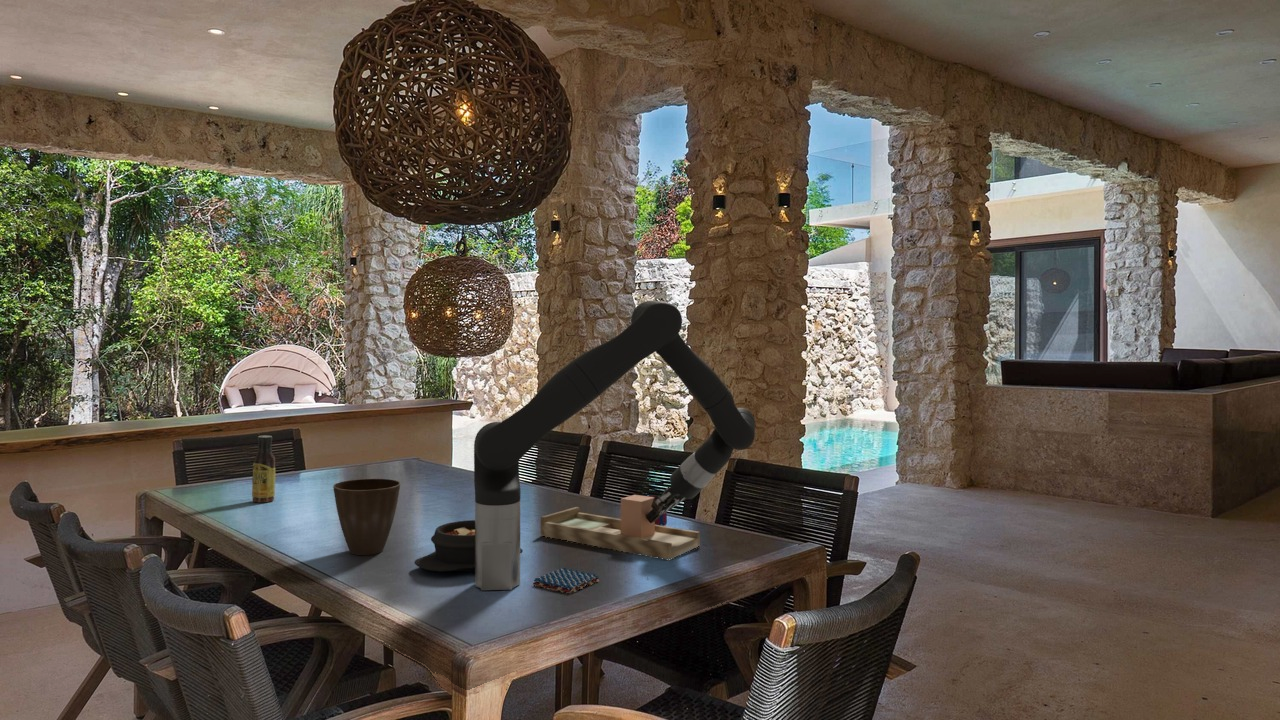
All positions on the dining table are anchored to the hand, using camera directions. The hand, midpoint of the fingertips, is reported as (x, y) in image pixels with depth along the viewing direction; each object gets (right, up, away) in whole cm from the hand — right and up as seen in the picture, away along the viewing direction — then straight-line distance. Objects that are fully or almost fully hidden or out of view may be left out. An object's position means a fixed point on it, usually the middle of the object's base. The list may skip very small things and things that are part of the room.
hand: (649, 519), depth 199 cm
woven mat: (-18, -8, -29) cm, 35 cm away
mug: (0, -6, +25) cm, 25 cm away
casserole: (-40, -7, -15) cm, 44 cm away
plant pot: (-67, -7, -5) cm, 67 cm away
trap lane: (-7, -7, +5) cm, 11 cm away
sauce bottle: (-116, -4, +50) cm, 126 cm away
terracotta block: (-3, -4, +2) cm, 6 cm away
